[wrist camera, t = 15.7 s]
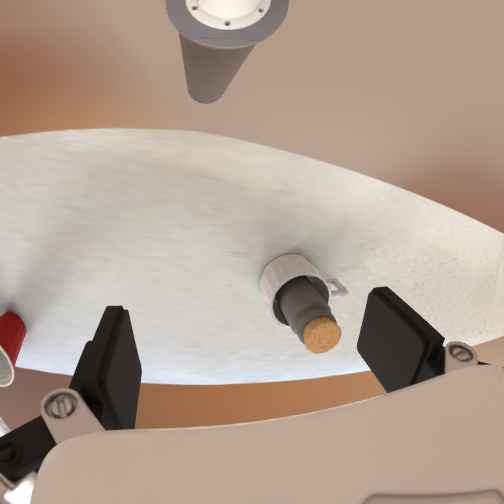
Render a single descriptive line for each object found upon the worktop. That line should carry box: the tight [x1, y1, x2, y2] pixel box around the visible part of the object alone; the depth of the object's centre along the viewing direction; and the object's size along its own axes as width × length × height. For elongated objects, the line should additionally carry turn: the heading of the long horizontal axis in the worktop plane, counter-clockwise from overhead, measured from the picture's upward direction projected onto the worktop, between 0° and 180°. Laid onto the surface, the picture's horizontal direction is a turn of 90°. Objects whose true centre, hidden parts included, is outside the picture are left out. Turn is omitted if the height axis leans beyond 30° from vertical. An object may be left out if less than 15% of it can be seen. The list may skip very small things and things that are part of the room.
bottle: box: [275, 275, 341, 354], centre depth 42 cm, size 6×6×15 cm
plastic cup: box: [0, 312, 26, 387], centre depth 37 cm, size 11×11×12 cm
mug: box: [260, 254, 348, 329], centre depth 46 cm, size 13×9×7 cm
